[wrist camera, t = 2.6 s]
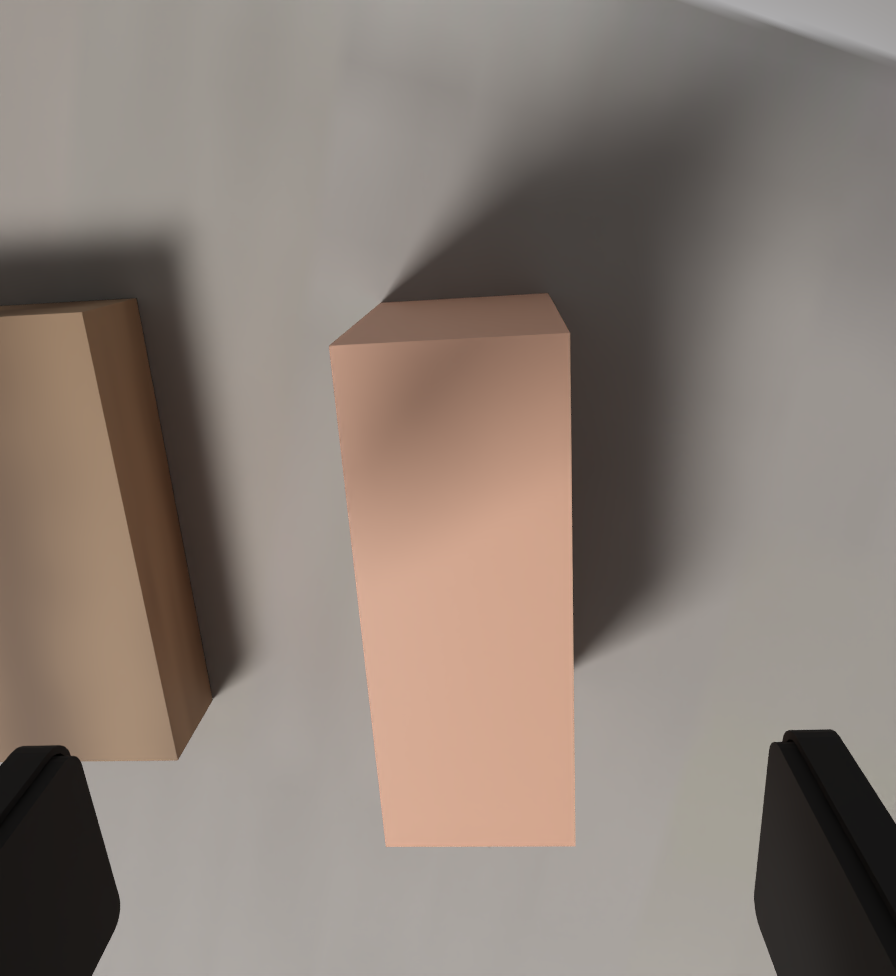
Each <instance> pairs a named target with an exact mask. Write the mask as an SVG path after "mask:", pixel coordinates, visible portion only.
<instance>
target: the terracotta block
mask: <svg viewBox="0 0 896 976" xmlns="http://www.w3.org/2000/svg"><path fill="white" fill-rule="evenodd" d="M329 350H330V359H331V368H332V377H333V385H334V394H335V403H336V412H337V421H338V429H339V438H340V447H341V456H342V465H343V473H344V482H345V491H346V500H347V509H348V517H349V526H350V535H351V544H352V552H353V561H354V570H355V579H356V588H357V596H358V605H359V614H360V623H361V632H362V640H363V649H364V658H365V667H366V676H367V684H368V693H369V702H370V711H371V720H372V728H373V737H374V746H375V755H376V763H377V772H378V781H379V790H380V799H381V807H382V816H383V825H384V834H385V843H386V847H475V846H575V764H574V666H573V568H572V471H571V373H570V332H569V330H568V328H567V326H566V325H565V323H564V321H563V319H562V317H561V316H560V314H559V312H558V310H557V308H556V307H555V305H554V303H553V301H552V299H551V298H550V296H549V294H548V293H541V294H524V295H507V296H489V297H472V298H455V299H437V300H420V301H403V302H385V303H380V304H379V305H377V306H376V307H375V308H374V309H373V310H371V311H370V312H369V313H368V314H367V315H365V316H364V317H363V318H362V319H361V320H359V321H358V322H357V323H356V324H355V325H353V326H352V327H351V328H350V329H349V330H347V331H346V332H345V333H344V334H343V335H341V336H340V337H339V338H338V339H337V340H335V341H334V342H333V343H332V344H331V345H329Z"/></svg>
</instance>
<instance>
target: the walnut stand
mask: <svg viewBox="0 0 896 976" xmlns="http://www.w3.org/2000/svg"><path fill="white" fill-rule="evenodd" d="M212 700H213V699H212V694H211V689H210V683H209V678H208V673H207V668H206V662H205V657H204V652H203V647H202V641H201V636H200V631H199V626H198V620H197V615H196V610H195V604H194V599H193V594H192V589H191V583H190V578H189V573H188V568H187V562H186V557H185V552H184V547H183V541H182V536H181V531H180V525H179V520H178V515H177V510H176V504H175V499H174V494H173V489H172V483H171V478H170V473H169V468H168V462H167V457H166V452H165V446H164V441H163V436H162V431H161V425H160V420H159V415H158V410H157V404H156V399H155V394H154V389H153V383H152V378H151V373H150V367H149V362H148V357H147V352H146V346H145V341H144V336H143V331H142V325H141V320H140V315H139V309H138V304H137V299H136V298H131V299H113V300H96V301H78V302H60V303H43V304H25V305H8V306H0V762H4V761H5V760H6V758H7V757H8V756H9V755H10V754H11V753H12V752H13V751H14V750H15V749H16V748H18V747H21V746H41V745H61V746H65V747H66V748H67V749H68V750H69V752H70V755H71V756H77V757H78V758H79V759H80V761H166V760H178V759H179V757H180V756H181V754H182V752H183V750H184V749H185V747H186V745H187V743H188V742H189V740H190V738H191V737H192V735H193V733H194V731H195V730H196V728H197V726H198V724H199V723H200V721H201V719H202V717H203V716H204V714H205V712H206V711H207V709H208V707H209V705H210V704H211V702H212Z"/></svg>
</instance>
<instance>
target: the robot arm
mask: <svg viewBox="0 0 896 976" xmlns="http://www.w3.org/2000/svg"><path fill="white" fill-rule="evenodd" d="M754 903H755V911H756V916H757V920H758V924H759V927H760V930H761V932H762V935H763V938H764V941H765V943H766V946H767V949H768V951H769V954H770V957H771V960H772V962H773V965H774V968H775V970H776V973H777V976H896V824H895V822H894V820H893V819H892V817H891V816H890V814H889V813H888V811H887V810H886V808H885V806H884V805H883V803H882V802H881V800H880V799H879V797H878V796H877V794H876V792H875V791H874V789H873V788H872V786H871V785H870V783H869V782H868V780H867V778H866V777H865V775H864V774H863V772H862V771H861V769H860V768H859V766H858V764H857V763H856V761H855V760H854V758H853V757H852V755H851V754H850V752H849V750H848V749H847V747H846V746H845V744H844V743H843V741H842V739H841V738H840V737H839V735H838V734H837V733H836V732H835V731H833V730H831V729H829V730H789V731H786V732H785V734H784V736H783V741H782V742H773V743H772V744H771V745H770V749H769V757H768V766H767V776H766V785H765V795H764V805H763V814H762V824H761V833H760V843H759V852H758V862H757V872H756V881H755V891H754ZM119 913H120V899H119V894H118V891H117V887H116V884H115V880H114V877H113V873H112V870H111V866H110V863H109V859H108V855H107V852H106V848H105V845H104V841H103V838H102V834H101V831H100V827H99V824H98V820H97V816H96V813H95V809H94V806H93V802H92V799H91V795H90V792H89V788H88V785H87V781H86V778H85V774H84V770H83V767H82V764H81V761H80V759H79V758H78V757H77V756H71V755H70V752H69V750H68V749H67V748H66V747H65V746H61V745H41V746H21V747H18V748H16V749H15V750H14V751H13V752H12V753H11V754H10V755H9V756H8V757H7V758H6V760H5V761H4V762H3V763H2V764H1V766H0V976H92V974H93V972H94V970H95V968H96V966H97V964H98V962H99V960H100V958H101V956H102V954H103V952H104V950H105V948H106V946H107V944H108V942H109V940H110V938H111V936H112V934H113V932H114V930H115V928H116V925H117V922H118V919H119Z"/></svg>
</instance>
